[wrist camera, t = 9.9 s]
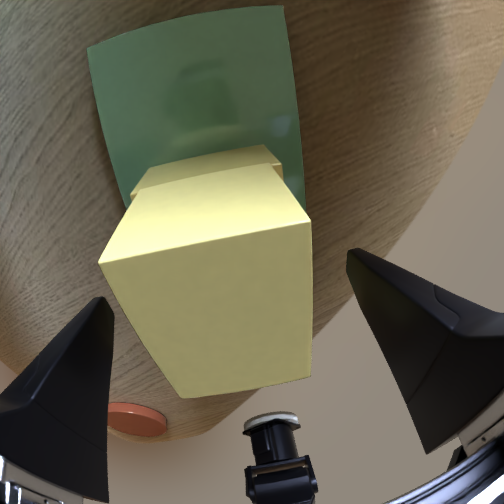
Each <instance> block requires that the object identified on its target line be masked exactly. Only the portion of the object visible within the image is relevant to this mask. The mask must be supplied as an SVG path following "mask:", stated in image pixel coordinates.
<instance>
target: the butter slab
mask: <svg viewBox="0 0 504 504" xmlns="http://www.w3.org/2000/svg"><path fill="white" fill-rule="evenodd" d="M98 265H99V267H100V269H101V271H102V273H103V275H104V277H105V279H106V281H107V283H108V285H109V286H110V288H111V290H112V292H113V294H114V296H115V298H116V299H117V301H118V303H119V305H120V307H121V308H122V310H123V312H124V314H125V315H126V317H127V319H128V320H129V322H130V324H131V326H132V327H133V329H134V330H135V332H136V334H137V335H138V337H139V339H140V340H141V342H142V343H143V345H144V346H145V348H146V350H147V351H148V353H149V354H150V356H151V357H152V359H153V360H154V362H155V363H156V365H157V366H158V367H159V369H160V370H161V372H162V373H163V375H164V376H165V377H166V379H167V380H168V382H169V383H170V384H171V386H172V387H173V388H174V390H175V391H176V392H177V394H178V395H179V396H180V398H182V399H183V398H194V397H203V396H211V395H219V394H226V393H233V392H240V391H246V390H252V389H257V388H263V387H268V386H273V385H277V384H282V383H287V382H291V381H296V380H300V379H304V378H308V377H310V376H311V356H312V355H311V354H312V314H313V274H312V231H311V220H310V218H309V217H308V216H307V214H306V213H305V211H304V210H303V208H302V207H301V206H300V204H299V203H298V201H297V200H296V199H295V197H294V196H293V194H292V193H291V192H290V190H289V189H288V187H287V186H286V185H285V183H284V182H283V181H282V179H281V178H280V177H279V175H278V174H277V173H276V171H275V170H274V169H273V167H272V166H271V165H270V163H264V164H257V165H251V166H246V167H240V168H234V169H229V170H224V171H219V172H214V173H209V174H204V175H199V176H194V177H190V178H185V179H181V180H177V181H172V182H168V183H164V184H160V185H156V186H152V187H148V188H144V189H140V190H139V192H138V193H137V195H136V197H135V198H134V200H133V201H132V203H131V205H130V206H129V208H128V209H127V211H126V213H125V214H124V216H123V218H122V220H121V221H120V223H119V225H118V226H117V228H116V230H115V232H114V233H113V235H112V237H111V239H110V241H109V242H108V244H107V246H106V248H105V250H104V252H103V254H102V255H101V257H100V259H99V261H98Z"/></svg>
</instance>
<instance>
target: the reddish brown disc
mask: <svg viewBox="0 0 504 504" xmlns="http://www.w3.org/2000/svg"><path fill="white" fill-rule="evenodd" d="M107 425H108V426H110V427H112V428H114V429H116V430H118V431H121V432H124V433H127V434H131V435H136V436H147V437H150V436H159V435H162V434H164V433H165V432H166V431H167V419H166V418H165V417H164V416H163V415H162V414H161V413H159V412H157V411H155V410H153V409H150V408H147V407H144V406H140V405H136V404H130V403H110V404H108V422H107Z"/></svg>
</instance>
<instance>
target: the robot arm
mask: <svg viewBox="0 0 504 504" xmlns="http://www.w3.org/2000/svg"><path fill="white" fill-rule="evenodd" d="M346 272H347V275H348V278H349V280H350V283H351V285H352V288H353V291H354V293H355V296H356V298H357V301H358V303H359V306H360V308H361V310H362V312H363V314H364V316H365V318H366V320H367V322H368V324H369V326H370V328H371V330H372V332H373V334H374V336H375V338H376V340H377V342H378V344H379V346H380V348H381V350H382V352H383V354H384V357H385V359H386V361H387V363H388V365H389V367H390V369H391V371H392V374H393V376H394V378H395V380H396V382H397V385H398V387H399V389H400V391H401V394H402V396H403V398H404V401H405V403H406V404H407V408H408V410H409V413H410V415H411V417H412V420H413V422H414V425H415V427H416V430H417V432H418V435H419V437H420V440H421V442H422V445H423V448H424V450H425V453H426V454H429V453H431V452H433V451H435V450H436V449H438V448H440V447H441V446H443V445H445V444H447V443H448V442H450V441H452V440H453V439H455V438H456V437H459V439H460V441H461V444H462V445H461V446H460V447H458V448H457V449H455V450H454V452H453V455H452V458H451V461H450V463H449V466H448V469H447V471H446V472H444V473H442V474H441V475H439V476H437V477H436V478H434V479H432V480H430V481H429V482H427V483H425V484H423V485H421V486H419V487H417V488H415V489H413V490H411V491H409V492H407V493H405V494H403V495H401V496H399V497H397V498H394V499H392V500H390V501H387V502H385V503H383V504H504V313H499V312H495V311H492V310H489V309H487V308H485V307H483V306H480V305H478V304H476V303H473V302H471V301H469V300H467V299H464V298H462V297H460V296H457V295H455V294H453V293H451V292H449V291H447V290H445V289H443V288H441V287H439V286H437V285H433V283H431V282H429V281H427V280H425V279H423V278H421V277H419V276H417V275H415V274H413V273H411V272H409V271H407V270H405V269H403V268H401V267H399V266H397V265H395V264H393V263H391V262H388V261H386V260H384V259H382V258H380V257H378V256H376V255H374V254H371V253H369V252H367V251H365V250H363V249H361V248H354V249H349V250H348V252H347V262H346ZM114 321H115V316H114V312H113V310H112V309H111V307H110V305H109V303H108V302H107V300H106V298H105V297H103V296H101V297H95V298H93V299H92V300H91V301H90V302H89V303H88V304H87V305H86V306H85V307H84V308H83V309H82V310H81V311H80V312H79V313H78V314H77V315H76V316H75V317H74V318H73V319H72V320H71V321H70V322H69V323H68V324H67V325H66V326H65V327H64V328H63V329H62V330H61V331H60V332H59V333H58V334H57V335H56V336H55V337H54V338H53V339H52V340H51V341H50V342H49V344H48V345H47V346H46V347H45V348H44V349H43V350H42V351H41V352H40V353H39V355H37V356H36V358H35V359H34V360H33V361H32V362H31V363H30V364H29V365H28V366H27V367H26V368H25V369H24V370H23V372H22V373H21V374H20V375H19V376H18V377H17V378H16V379H15V380H14V381H13V382H12V383H11V384H10V385H9V386H8V387H7V388H6V389H5V390H4V391H3V392H2V393H1V394H0V504H83V498H86V499H90V500H95V501H99V502H104V503H109V491H108V476H107V475H108V473H107V453H106V452H107V422H108V402H109V389H110V378H111V368H112V359H113V346H114ZM300 427H301V426H300V424H296V423H293V422H289V421H286V420H282V419H279V418H275V419H272V420H270V421H267V422H265V423H263V424H260V425H258V426H255V427H253V428H250V429H248V430H245V431H243V432H242V434H243V435H246V436H250V437H251V443H252V450H253V454H254V456H255V462H256V466H247V468H246V469H244V471H245V477H246V496H247V497H249V498H250V499H251V501H252V503H253V504H315V495H314V493H317V492H318V487H317V482H316V478H315V475H314V471H313V468H312V465H311V461H310V458H309V455H305V456H303V457H299V456H298V452H297V448H296V444H295V440H294V436H293V432H292V431H294V430H296V429H299V428H300ZM304 465H305V467H304V468H303V467H302V466H304ZM256 475H257V477H256Z"/></svg>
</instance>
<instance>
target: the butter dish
mask: <svg viewBox="0 0 504 504" xmlns="http://www.w3.org/2000/svg"><path fill="white" fill-rule="evenodd" d="M86 50H87V56H88V63H89V69H90V75H91V80H92V85H93V90H94V95H95V100H96V105H97V109H98V114H99V118H100V122H101V126H102V130H103V134H104V138H105V142H106V145H107V149H108V153H109V156H110V160H111V163H112V167H113V170H114V173H115V177H116V180H117V183H118V186H119V189H120V192H121V195H122V198H123V201H124V204H125V207H126V210H127V209H128V208H129V206H130V205H131V203H132V201H133V200H134V198H135V197H136V195H137V193H138V192H139V190H140V189H144V188H148V187H152V186H156V185H160V184H164V183H168V182H172V181H177V180H181V179H185V178H190V177H194V176H199V175H204V174H209V173H214V172H219V171H224V170H229V169H234V168H240V167H246V166H251V165H257V164H264V163H270V165H271V166H272V167H273V169H274V170H275V171H276V173H277V174H278V175H279V177H280V178H281V179H282V181H283V182H284V183H285V185H286V186H287V187H288V189H289V190H290V192H291V193H292V194H293V196H294V197H295V199H296V200H297V201H298V203H299V204H300V206H301V207H302V208H303V210H304V211H305V213H306V200H305V185H304V171H303V158H302V146H301V135H300V125H299V116H298V107H297V98H296V90H295V82H294V74H293V67H292V60H291V53H290V46H289V40H288V33H287V27H286V22H285V16H284V10H283V6H282V5H273V6H254V7H242V8H232V9H224V10H217V11H211V12H204V13H199V14H194V15H189V16H184V17H179V18H175V19H171V20H167V21H163V22H159V23H155V24H152V25H148V26H145V27H142V28H139V29H135V30H132V31H129V32H126V33H124V34H121V35H118V36H115V37H113V38H110V39H107V40H105V41H102V42H100V43H98V44H95V45H93V46H91V47H88V48H87V49H86Z"/></svg>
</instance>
